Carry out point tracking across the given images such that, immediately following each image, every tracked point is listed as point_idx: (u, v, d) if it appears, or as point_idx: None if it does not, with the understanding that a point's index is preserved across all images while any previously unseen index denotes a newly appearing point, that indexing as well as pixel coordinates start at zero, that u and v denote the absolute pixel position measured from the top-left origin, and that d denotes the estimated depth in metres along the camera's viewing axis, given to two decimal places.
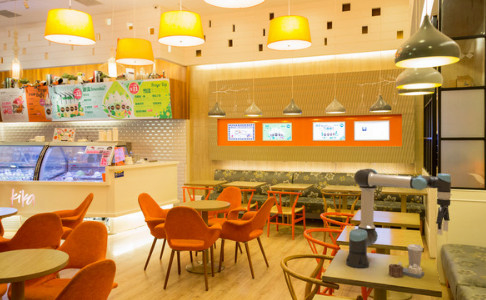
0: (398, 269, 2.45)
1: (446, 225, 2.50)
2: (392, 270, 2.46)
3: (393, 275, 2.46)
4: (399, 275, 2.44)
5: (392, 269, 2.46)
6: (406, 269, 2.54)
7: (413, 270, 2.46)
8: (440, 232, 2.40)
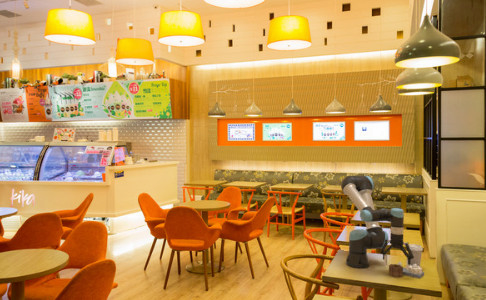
0: (398, 269, 2.45)
1: None
2: (392, 270, 2.46)
3: (393, 275, 2.46)
4: (399, 275, 2.44)
5: (392, 269, 2.46)
6: None
7: (413, 270, 2.46)
8: None
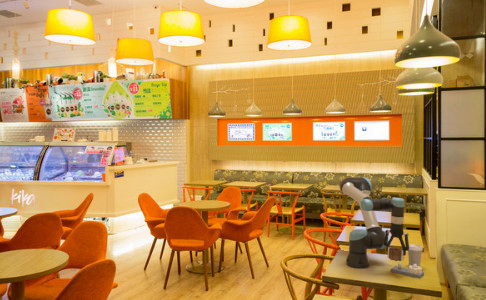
0: (398, 253, 2.45)
1: None
2: (392, 254, 2.46)
3: (393, 259, 2.46)
4: (399, 259, 2.45)
5: (392, 253, 2.46)
6: (406, 269, 2.54)
7: (413, 270, 2.46)
8: None
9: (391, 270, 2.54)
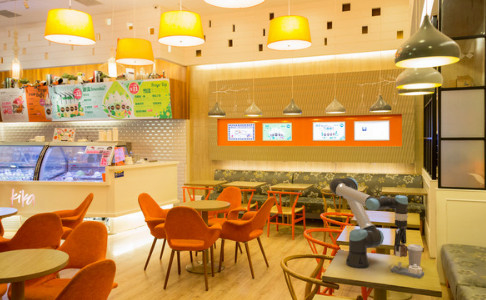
0: None
1: None
2: None
3: None
4: None
5: None
6: (406, 269, 2.54)
7: (413, 270, 2.46)
8: (398, 254, 2.51)
9: (391, 270, 2.54)
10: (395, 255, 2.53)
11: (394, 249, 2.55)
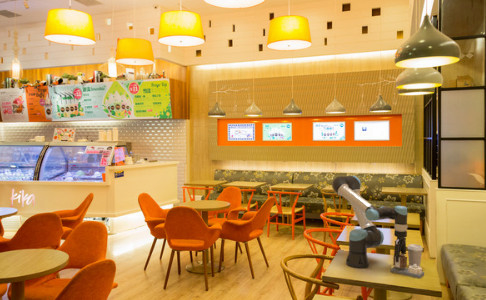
0: None
1: None
2: None
3: None
4: None
5: None
6: (406, 269, 2.54)
7: (413, 270, 2.46)
8: (398, 265, 2.51)
9: (391, 270, 2.54)
10: None
11: (394, 260, 2.55)
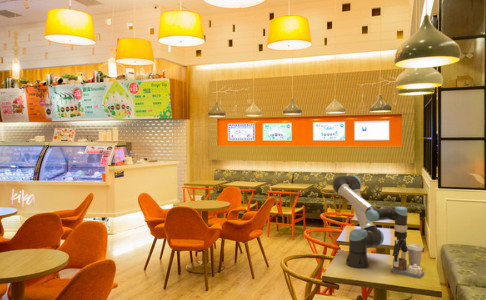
0: None
1: (404, 256, 2.59)
2: None
3: (404, 268, 2.53)
4: None
5: None
6: (406, 269, 2.54)
7: (413, 270, 2.46)
8: (396, 264, 2.49)
9: (391, 270, 2.54)
10: None
11: (393, 262, 2.56)
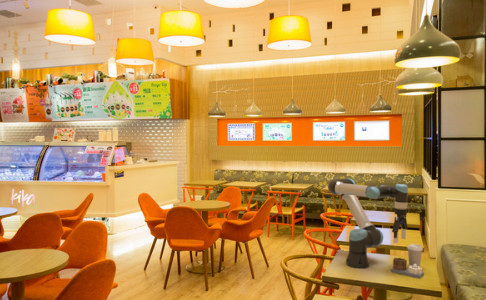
0: None
1: (404, 233, 2.60)
2: None
3: (404, 268, 2.53)
4: None
5: None
6: (406, 269, 2.54)
7: (413, 270, 2.46)
8: (396, 240, 2.50)
9: (391, 270, 2.54)
10: None
11: (393, 262, 2.56)
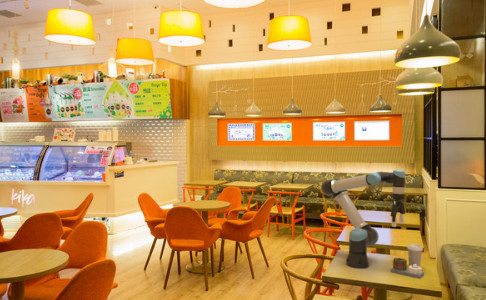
0: None
1: (402, 218, 2.67)
2: None
3: (404, 268, 2.53)
4: None
5: None
6: (406, 269, 2.54)
7: (413, 270, 2.46)
8: (394, 224, 2.56)
9: (391, 270, 2.54)
10: None
11: (393, 262, 2.56)
